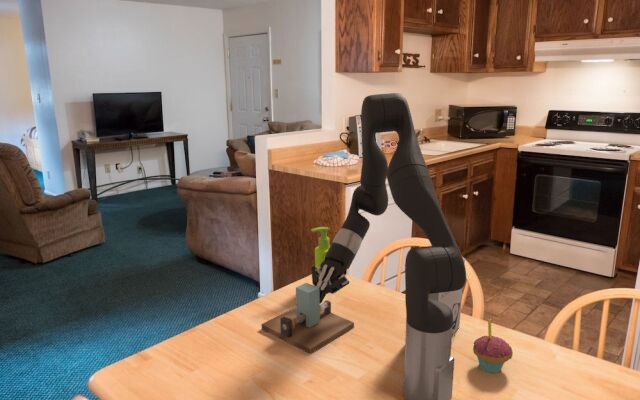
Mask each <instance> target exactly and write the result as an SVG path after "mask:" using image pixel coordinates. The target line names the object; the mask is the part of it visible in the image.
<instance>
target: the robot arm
mask: <svg viewBox="0 0 640 400" xmlns="http://www.w3.org/2000/svg"><path fill="white" fill-rule="evenodd" d="M360 115H361V116H360V120H361V121H360V124H361V151H362V152H361V153H362V155H361V156H362V160H361V161H362V163H361V171H360V179H359V180H360V181H359V182H360V185H358V186H357V187H356V188H355V189H354V190H353V193H352V196H351V201H350V207H349V208H348V209H349V210H348V213H347V216H346V218H345V220H344V222H343V224H342V225H341V227H340V229H339V230H338V232H337V234H335V236H334V239H333V240H332V242H331V244H330V247H329V249H328V251H327V253H326V255H325V260H324V261H323V262H322V263H321V265H320V266H318V267H315V265H312V266H311V280H312V281H311V282H312V285H314V286H316V287H319V292H320V305H321V304H323V302H324V299H325V297H326V296H327V295H328V294H331V295H333V294H335V293H336V292H339V291H340V290H342V289H344V287H346V286H347V285H349V284H350V281H349V279H348V278H347V273H348V271H347V270H349V269H350V267H351V266H352V263H353V261H354V259H355V257H356V255H357V253H358V251H359V250H360V248H361V245H362V242H363V240H364V239H365V237H366V236H367V235H366V234H367V233H368V231H369V228H370V224H371V223H370V221H369V219H367V218H366V217H365V216H364V215H363V214H361V213H360V212H359V211H360V210H362V211H364V212H366V213H368V214H370V215H373V216H376V217H377V216H381V215H383V214H384V213H385V212H386V210H387V209H388V206H389V193H388V190H387V189H388V188H387V185H386V180H387V183H388V187H389V190H390V194H391V197H392V200H393V201H394V204H395V205H396V206H397V207H398V209H399V210H401V212H403V214H404V215H406V217H408V218H409V219H410V221H413V223H415V225H417V226H418V227H419V228H420V230H422V231H423V232H424V235H426V237H427V239H428V241H429V243H430V245H429V246H420V247H419V246H417V247H412V248H410V249H409V250H408V252H407V254H406V256H405V263H404V277H405V279H404V280H405V281H404V283H405V313H406V314H405V316H406V318H405V319H406V320H405V321H406V322H405V344H404V345H405V346H404V365H403V366H404V369H403V372H404V373H403V396H404V398H405V399H406V400H451V399H452V398H453V386H454V384H453V383H454V371H455V357H454V356H451V352H452V338H453V337H452V336H453V334H452V326H453V313H452V310H451V309H450V308H449V307H448V306H447V305H445V304H443V303H441V302H439V301H436V300H432V299H429V298H428V296H429V294H433V293H442V292H451V291H457V290H460V289H461V288H462V289H463V288H464V286H465V285H466V280H467V269H466V265H465V264H464V260H463V257H464V256H463V254H462V253H461V250H460V248H459V245H458V244H457V242H456V239H455V236H454V235H453V233H452V230H451V228H450V226H449V224H448V222H447V220H446V217H445V215H444V212H443V209H442V207H441V205H440V204H441V203H440V202H439V199H438V196H437V193H436V189H435V186H434V183H433V179H432V177H431V174H430V172H429V168H428V165H427V163H426V161H425V158H424V156H423V153H422V149H421V146H420V144H419V141H418V137H417V134H416V131H415V130H416V129H415V126H414V125H415V124H414V123H413V117H412V114H411V109H410V107H409V103H408V101H407V99H406V97H405V95H403V93H398V92H393V93H389V92H388V93H379V94H377V93H376V94H371V95H370V94H369V95H367V96H365V97H364V99H363V100H362V104H361V112H360ZM392 132H396V133H397V135H398V141H397V146H396V149H395V150H394V153H393V155H392V157H391V158H390V160H389V161H390V162H389V164H388V159H387V157H386V155H385V154H384V152H383V151H382V149H381V147H379V145H378V143H377V141H376V138H375V134H378V133H379V134H380V133H392Z"/></svg>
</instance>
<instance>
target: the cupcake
mask: <svg viewBox="0 0 640 400" xmlns="http://www.w3.org/2000/svg"><path fill="white" fill-rule="evenodd" d="M487 327H488V328H487V329H488V335H484V336H483V335H482V336H480V337H479V338H476V339H475V340H474V341H473V348H472V351H473V354H474V355H475V356H476V358H477V360H478V361H477V362H478V364H479V368H480V369H482V370H483V371H484V372H487V373H493V374H496V373H499V372H501V370H502V369H503V366H504V364H505V363H506V362H508V361H509V360H511V359H512V358H513V349H512V346H511V345H510V343H508V342H506V341H505V340H504V339H503V338H501V337H499V336H496V335H495V336H494V335H492V319H491V317H490V316H489V315H488V319H487Z"/></svg>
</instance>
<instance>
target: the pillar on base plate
mask: <svg viewBox="0 0 640 400" xmlns="http://www.w3.org/2000/svg"><path fill="white" fill-rule="evenodd" d="M305 319H306V315H305V314H301V315H300V316H298V317H296V306H295V307H293V308H290V309H289V310H287V311H285V312H283V313H281V314H279V315H277V316H275V317H272V318H271V319H269V320H267V321H265V322H263V323H261V330H263V331H265V332H266V333H269V334H270V335H273V336H274V337H276V338H278V339H280V340H282V341H284V342H286V343H287V344H290V345H292V346H294V347H296V348H298V349H299V350H301V351H304V352H305V353H307V354H309V355H312V354H314V353H315V352H316V351H318V350H319V349H321V348H322V347H325V346H326V345H328V344H329V343H331V342H333V341H334V340H336V339H337V338H340V336H342V335H344V334H346V333H348V332H349V331H350V330H353V328H354V327H355V323H354V321H352V320H349V319H347V318H345V317H342V316H340V315H338V314H335V313H333V312H332V302H331V301H329V300H327V299H326V300H323V302H322V303H321V304H320V322H319V323H317V324H316V325H314V326H312V327H310V328H309V327H307V326H306V320H305ZM303 320H305V321H304V322H302V323H300V322H301V321H303Z"/></svg>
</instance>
